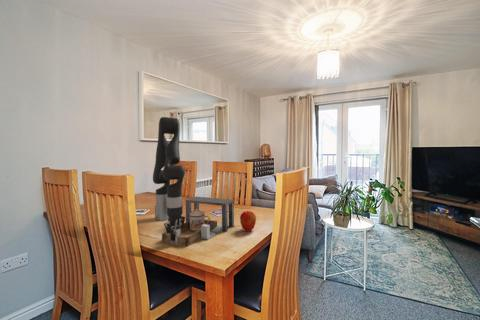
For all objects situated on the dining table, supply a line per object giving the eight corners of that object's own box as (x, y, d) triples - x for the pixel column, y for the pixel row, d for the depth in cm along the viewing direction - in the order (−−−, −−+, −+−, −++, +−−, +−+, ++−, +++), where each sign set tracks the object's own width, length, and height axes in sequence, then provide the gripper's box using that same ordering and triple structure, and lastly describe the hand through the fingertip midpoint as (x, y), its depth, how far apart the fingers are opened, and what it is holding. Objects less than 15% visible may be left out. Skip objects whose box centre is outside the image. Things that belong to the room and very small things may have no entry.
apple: (245, 234, 128) (245, 213, 128) (237, 229, 136) (236, 209, 135) (259, 231, 133) (259, 210, 133) (250, 226, 141) (250, 207, 140)
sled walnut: (161, 242, 119) (160, 228, 118) (194, 224, 146) (194, 213, 146) (186, 247, 112) (186, 232, 112) (217, 227, 140) (216, 216, 140)
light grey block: (200, 238, 123) (200, 225, 122) (208, 233, 130) (208, 221, 130) (207, 240, 121) (207, 226, 121) (215, 234, 128) (215, 222, 128)
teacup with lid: (189, 231, 133) (188, 211, 133) (189, 226, 142) (189, 207, 142) (210, 230, 135) (209, 210, 135) (209, 225, 144) (209, 206, 144)
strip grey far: (210, 232, 132) (210, 230, 132) (219, 226, 142) (219, 224, 142) (217, 233, 131) (217, 231, 130) (226, 227, 141) (226, 225, 141)
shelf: (186, 226, 143) (185, 199, 142) (196, 220, 153) (195, 196, 153) (225, 232, 132) (225, 203, 132) (233, 226, 142) (233, 199, 142)
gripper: (177, 201, 124) (178, 233, 125) (158, 208, 111) (159, 243, 112) (189, 202, 121) (190, 235, 122) (171, 209, 108) (172, 246, 109)
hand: (175, 239), depth 117 cm, fingers closed on sled walnut, 3 cm apart
